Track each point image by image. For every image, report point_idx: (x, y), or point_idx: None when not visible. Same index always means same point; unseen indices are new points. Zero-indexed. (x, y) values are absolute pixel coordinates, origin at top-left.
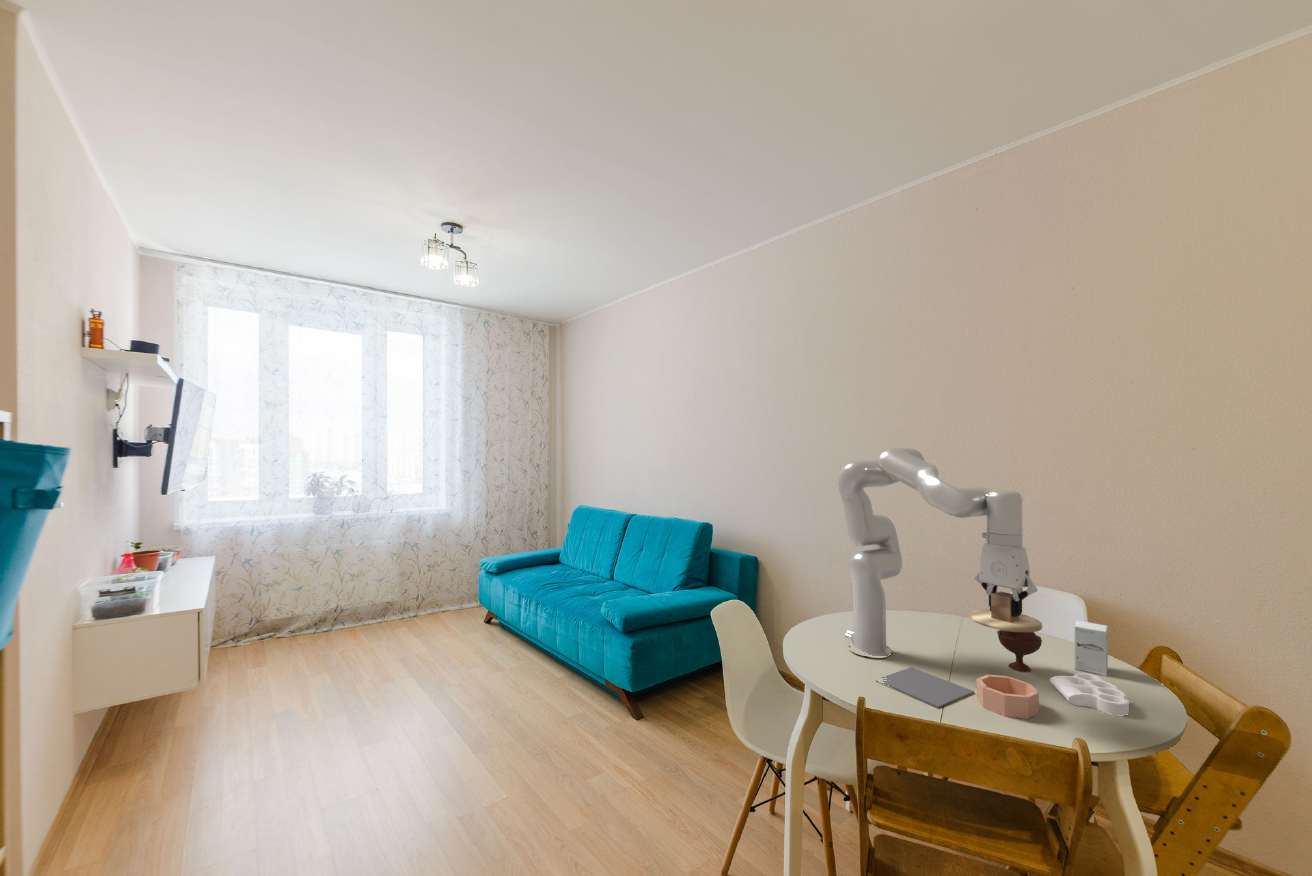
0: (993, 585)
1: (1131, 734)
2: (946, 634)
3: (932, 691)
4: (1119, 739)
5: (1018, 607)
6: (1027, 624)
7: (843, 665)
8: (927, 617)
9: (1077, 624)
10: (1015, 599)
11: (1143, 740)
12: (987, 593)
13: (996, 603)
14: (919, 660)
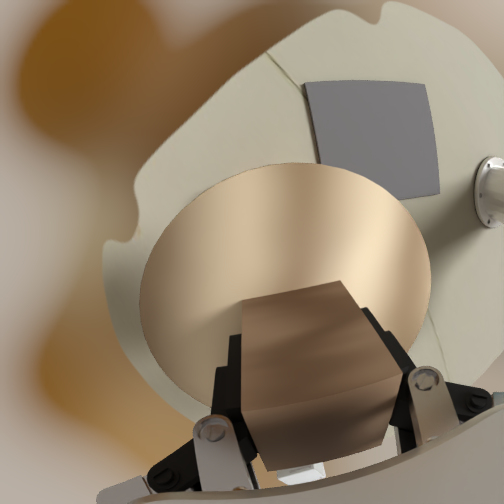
0: (420, 445)
1: (131, 315)
2: (456, 354)
3: (358, 129)
4: (122, 286)
5: (213, 390)
6: (193, 346)
7: (473, 99)
8: (481, 366)
9: (315, 472)
10: (220, 424)
11: (116, 312)
12: (429, 370)
13: (338, 340)
14: (448, 239)
